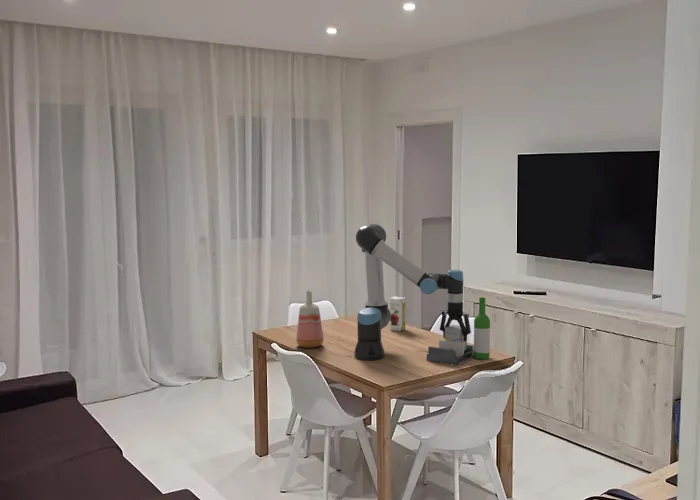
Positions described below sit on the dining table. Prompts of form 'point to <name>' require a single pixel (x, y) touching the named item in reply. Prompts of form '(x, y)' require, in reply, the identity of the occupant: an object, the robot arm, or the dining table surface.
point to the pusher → (452, 347)
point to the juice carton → (397, 313)
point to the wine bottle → (481, 333)
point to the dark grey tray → (449, 355)
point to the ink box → (454, 334)
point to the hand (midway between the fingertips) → (454, 346)
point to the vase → (309, 325)
